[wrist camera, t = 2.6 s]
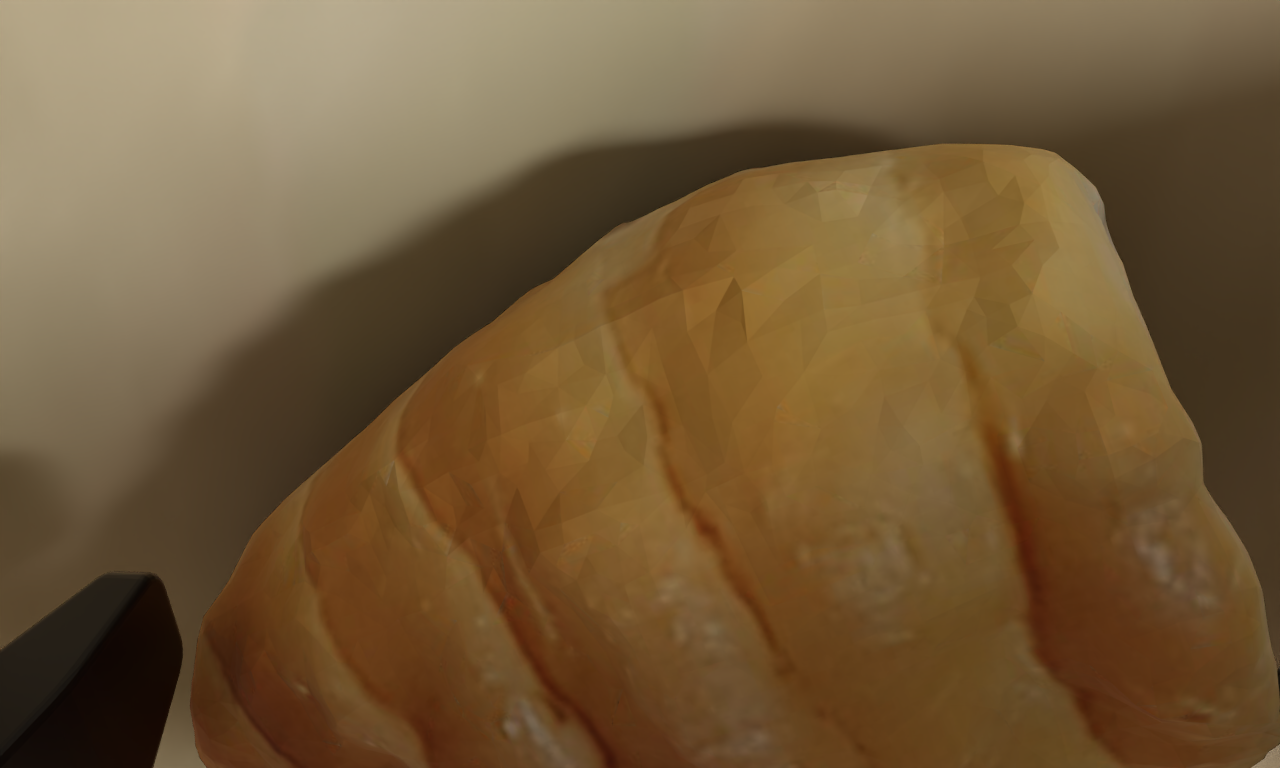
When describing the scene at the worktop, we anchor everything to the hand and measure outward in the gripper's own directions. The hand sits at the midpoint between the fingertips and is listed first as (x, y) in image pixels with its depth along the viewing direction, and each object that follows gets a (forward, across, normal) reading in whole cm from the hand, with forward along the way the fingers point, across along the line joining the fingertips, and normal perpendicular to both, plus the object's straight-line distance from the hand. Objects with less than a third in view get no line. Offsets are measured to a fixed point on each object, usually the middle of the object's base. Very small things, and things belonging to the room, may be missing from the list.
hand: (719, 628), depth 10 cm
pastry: (+3, +3, -1) cm, 5 cm away
